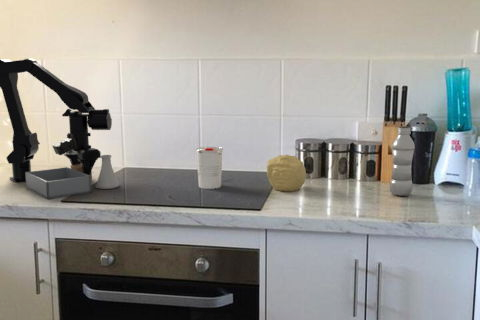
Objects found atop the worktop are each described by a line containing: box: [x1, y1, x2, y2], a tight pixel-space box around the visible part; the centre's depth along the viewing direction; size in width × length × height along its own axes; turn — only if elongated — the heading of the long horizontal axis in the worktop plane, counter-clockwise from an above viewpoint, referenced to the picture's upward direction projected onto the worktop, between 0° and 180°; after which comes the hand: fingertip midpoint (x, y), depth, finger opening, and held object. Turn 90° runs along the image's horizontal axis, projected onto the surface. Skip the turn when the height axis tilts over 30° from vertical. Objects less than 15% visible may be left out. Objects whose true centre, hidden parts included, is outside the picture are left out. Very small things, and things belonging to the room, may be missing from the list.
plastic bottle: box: [389, 126, 415, 197], centre depth 153 cm, size 6×7×20 cm
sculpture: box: [266, 154, 307, 192], centre depth 162 cm, size 12×12×11 cm
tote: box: [25, 166, 93, 200], centre depth 161 cm, size 18×13×5 cm
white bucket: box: [195, 146, 224, 190], centre depth 165 cm, size 10×8×12 cm
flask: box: [95, 154, 120, 190], centre depth 165 cm, size 7×7×10 cm
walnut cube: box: [70, 164, 93, 181], centre depth 175 cm, size 5×5×5 cm
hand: (81, 176), depth 176 cm, fingers open, 7 cm apart
